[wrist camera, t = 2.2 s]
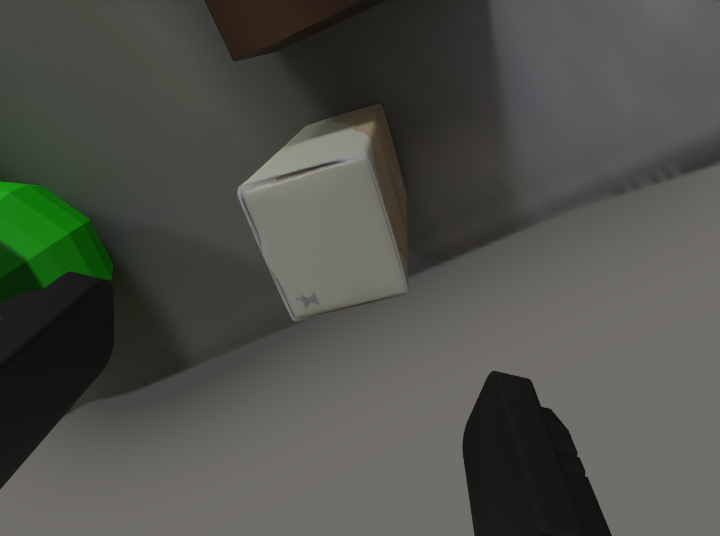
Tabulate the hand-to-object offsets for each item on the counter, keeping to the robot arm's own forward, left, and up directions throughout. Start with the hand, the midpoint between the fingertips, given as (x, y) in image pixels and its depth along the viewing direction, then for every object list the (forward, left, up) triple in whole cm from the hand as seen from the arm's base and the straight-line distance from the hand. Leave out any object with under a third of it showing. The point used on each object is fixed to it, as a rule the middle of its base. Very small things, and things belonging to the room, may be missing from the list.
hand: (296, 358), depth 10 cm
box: (0, 0, -17) cm, 17 cm away
